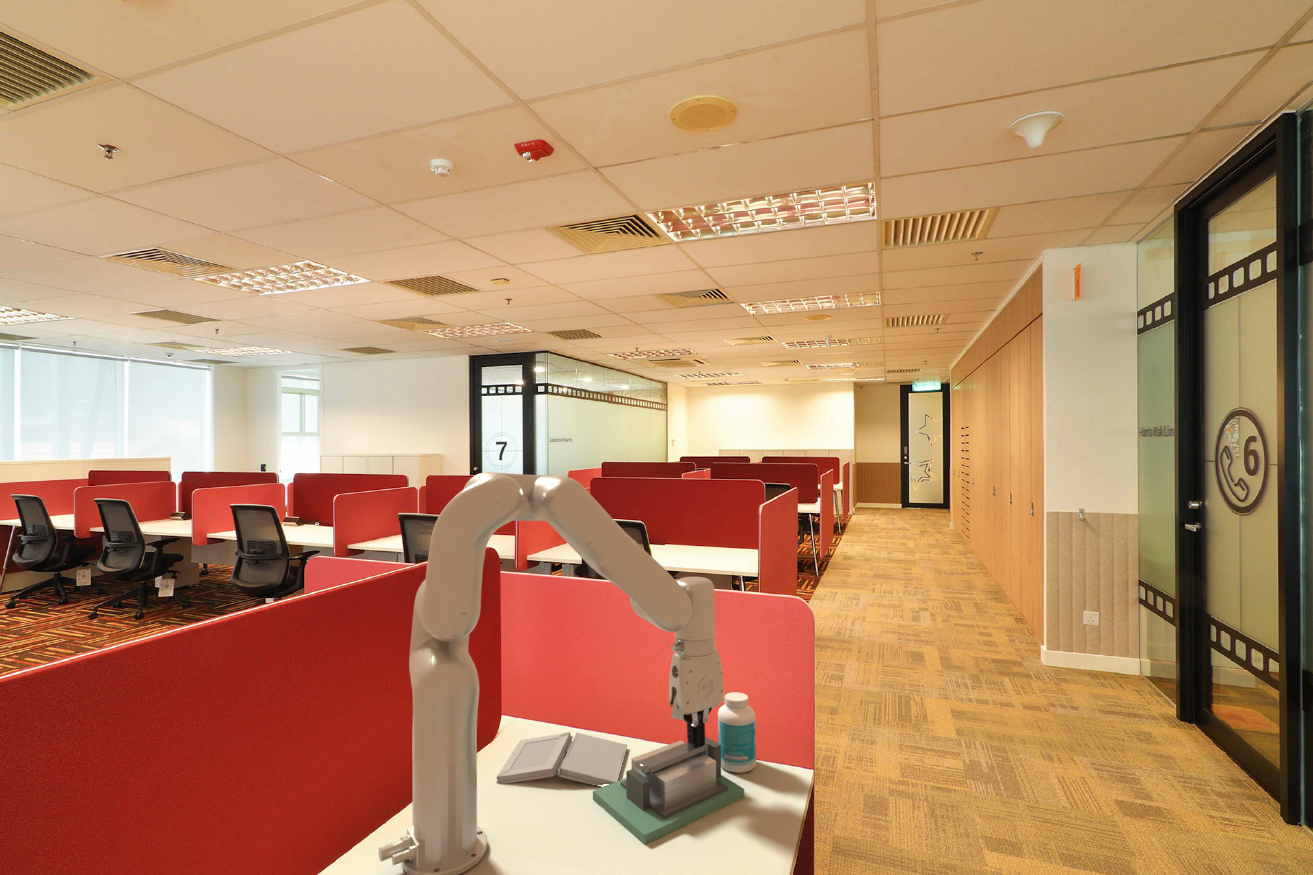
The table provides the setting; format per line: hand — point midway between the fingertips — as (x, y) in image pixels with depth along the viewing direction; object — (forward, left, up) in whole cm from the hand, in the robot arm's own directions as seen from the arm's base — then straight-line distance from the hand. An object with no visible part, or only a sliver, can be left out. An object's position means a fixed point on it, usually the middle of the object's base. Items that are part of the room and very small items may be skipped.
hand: (696, 743), depth 115 cm
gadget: (-16, +22, -9) cm, 28 cm away
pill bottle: (+11, +1, -8) cm, 14 cm away
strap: (-5, 0, -3) cm, 6 cm away
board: (-7, 0, -8) cm, 10 cm away
